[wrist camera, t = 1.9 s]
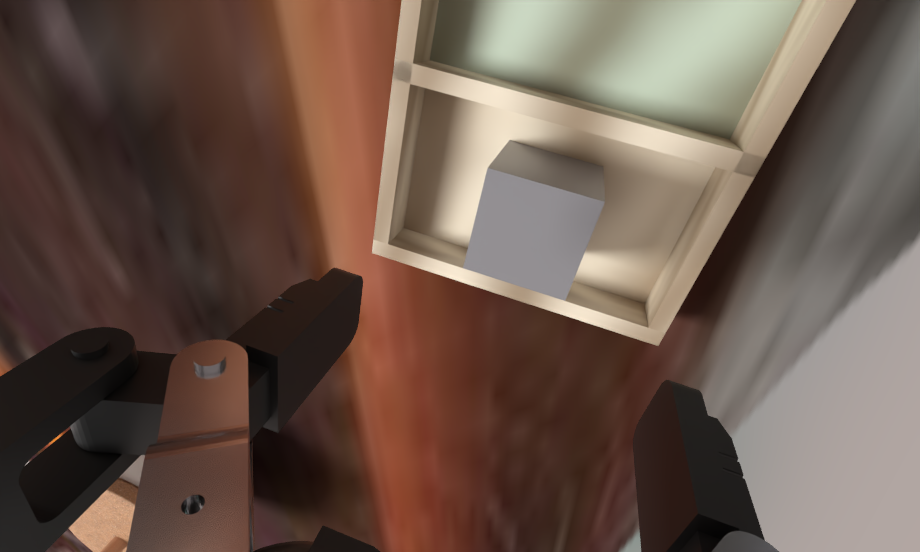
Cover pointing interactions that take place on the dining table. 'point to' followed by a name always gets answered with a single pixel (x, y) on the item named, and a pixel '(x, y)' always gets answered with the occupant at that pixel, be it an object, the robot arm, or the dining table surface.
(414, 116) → the tray
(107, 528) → the lidded bowl
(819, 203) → the dining table surface
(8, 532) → the robot arm
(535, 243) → the gray cube
